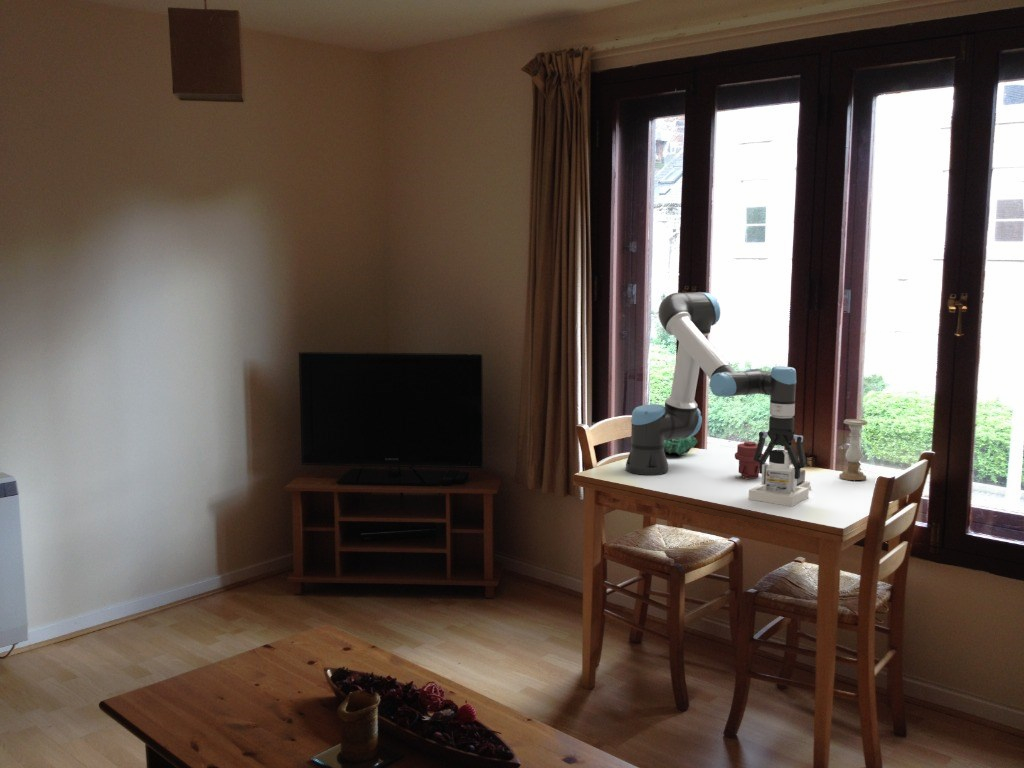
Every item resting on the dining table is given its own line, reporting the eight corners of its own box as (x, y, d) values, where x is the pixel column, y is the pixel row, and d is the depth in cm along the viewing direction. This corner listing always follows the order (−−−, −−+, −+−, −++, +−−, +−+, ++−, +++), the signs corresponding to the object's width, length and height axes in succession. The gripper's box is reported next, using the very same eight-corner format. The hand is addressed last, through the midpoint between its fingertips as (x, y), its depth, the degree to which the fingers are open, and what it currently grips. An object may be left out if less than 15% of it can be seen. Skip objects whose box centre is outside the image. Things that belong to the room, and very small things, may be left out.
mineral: (654, 449, 357) (655, 424, 356) (694, 449, 356) (695, 425, 354) (657, 458, 339) (658, 433, 338) (699, 459, 337) (700, 434, 336)
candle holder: (871, 480, 304) (874, 422, 302) (847, 481, 303) (850, 423, 300) (857, 475, 313) (860, 418, 310) (834, 475, 311) (837, 418, 309)
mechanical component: (731, 473, 315) (760, 474, 314) (736, 480, 305) (765, 481, 304) (733, 439, 313) (762, 440, 312) (737, 445, 303) (767, 445, 302)
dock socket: (748, 499, 280) (748, 489, 280) (778, 484, 299) (779, 475, 299) (791, 506, 271) (792, 496, 271) (820, 490, 291) (820, 481, 291)
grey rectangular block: (781, 488, 288) (782, 473, 287) (792, 482, 296) (793, 468, 295) (793, 490, 286) (794, 475, 285) (804, 484, 293) (805, 469, 293)
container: (764, 492, 279) (766, 452, 277) (767, 486, 286) (768, 447, 284) (790, 494, 276) (792, 454, 274) (792, 489, 283) (794, 449, 281)
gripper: (744, 414, 281) (741, 483, 284) (812, 421, 268) (808, 494, 271) (753, 411, 287) (751, 478, 290) (820, 418, 274) (817, 489, 277)
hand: (778, 486), depth 281 cm, fingers closed on container, 9 cm apart
